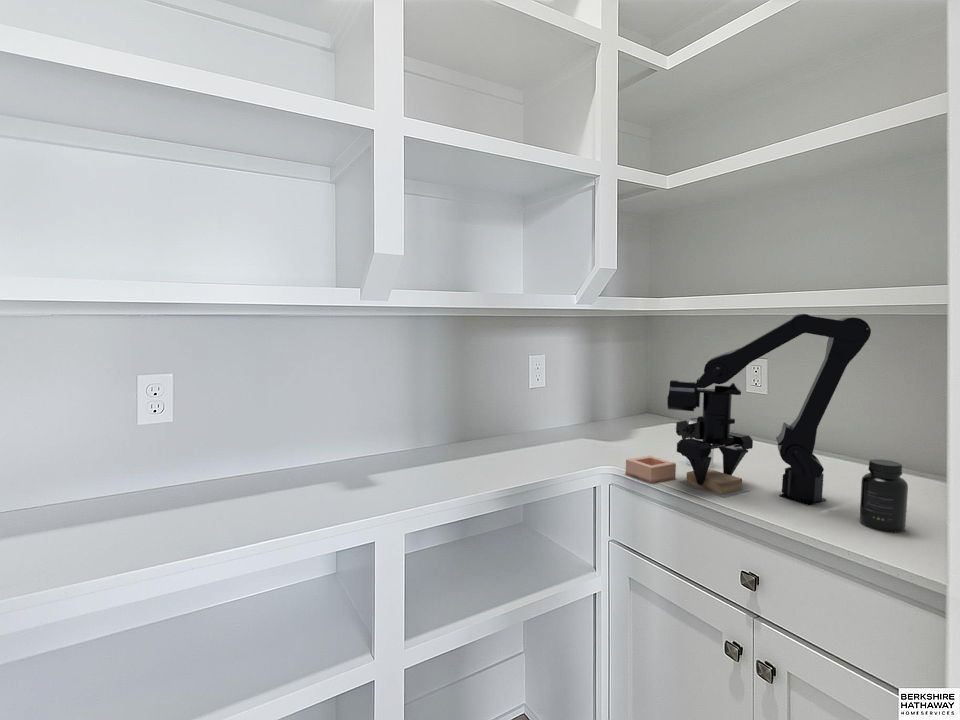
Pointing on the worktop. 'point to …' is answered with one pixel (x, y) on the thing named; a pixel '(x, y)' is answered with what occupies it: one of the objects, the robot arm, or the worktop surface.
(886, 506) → the supplement bottle
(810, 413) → the robot arm
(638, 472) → the pink square box
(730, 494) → the mat
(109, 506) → the worktop surface
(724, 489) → the lid
